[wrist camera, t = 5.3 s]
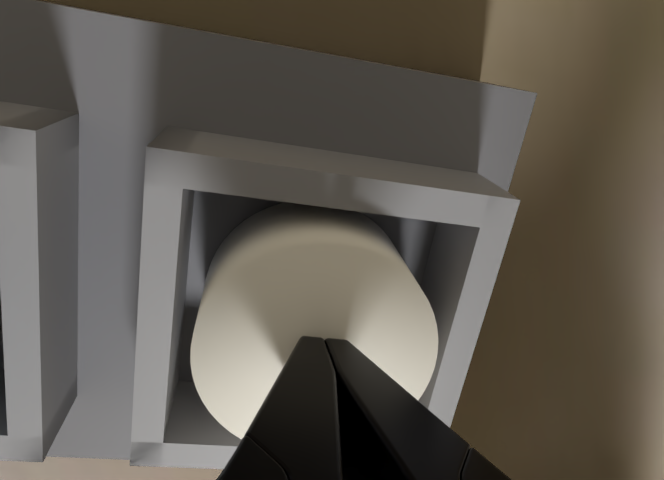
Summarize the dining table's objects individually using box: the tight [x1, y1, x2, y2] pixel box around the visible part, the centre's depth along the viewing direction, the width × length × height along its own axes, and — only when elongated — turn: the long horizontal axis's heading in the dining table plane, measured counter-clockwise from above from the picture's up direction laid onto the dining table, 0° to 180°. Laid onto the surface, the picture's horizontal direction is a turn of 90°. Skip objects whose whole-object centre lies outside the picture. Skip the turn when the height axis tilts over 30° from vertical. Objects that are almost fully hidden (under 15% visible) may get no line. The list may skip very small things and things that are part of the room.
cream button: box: [190, 202, 438, 439], centre depth 10 cm, size 4×4×2 cm
